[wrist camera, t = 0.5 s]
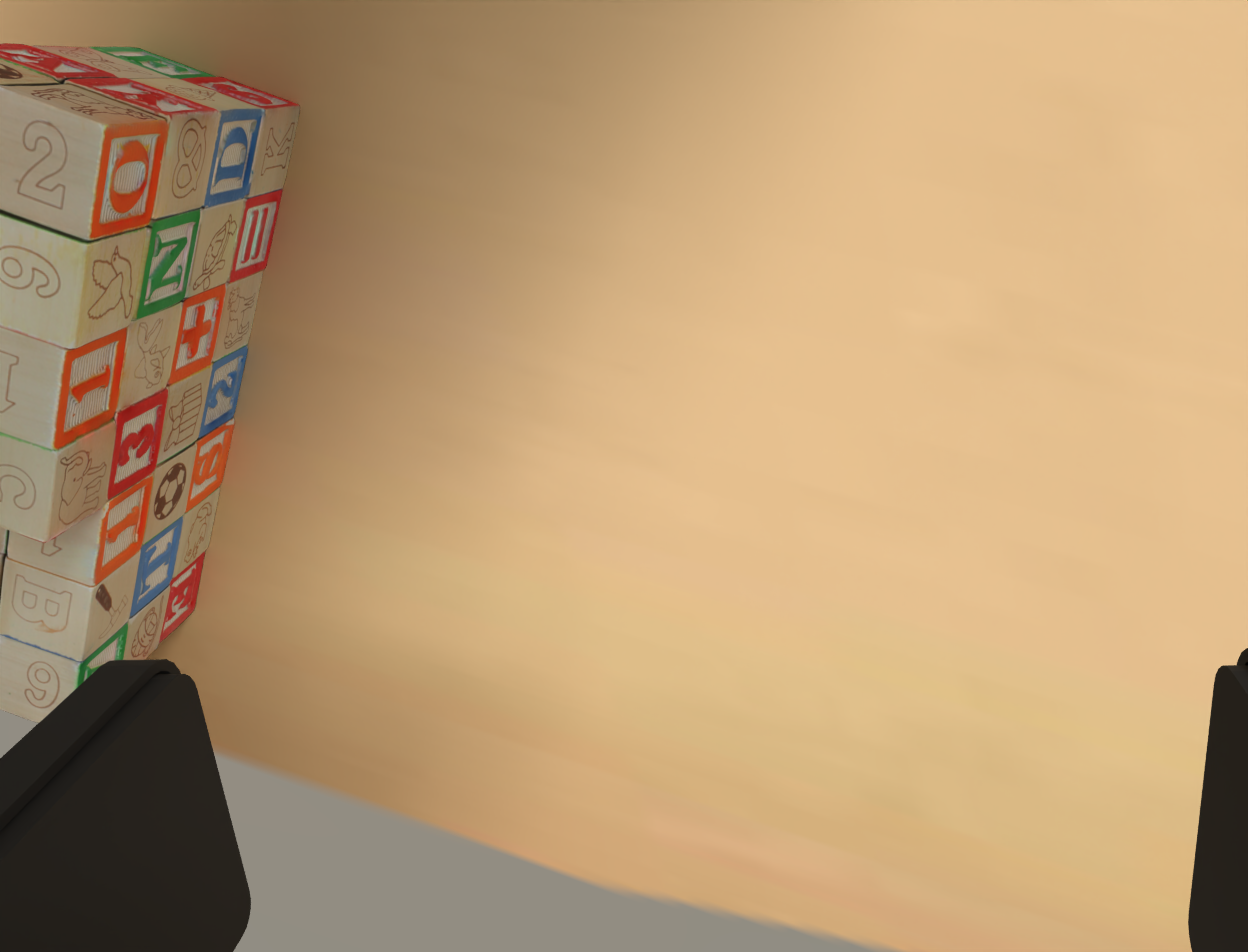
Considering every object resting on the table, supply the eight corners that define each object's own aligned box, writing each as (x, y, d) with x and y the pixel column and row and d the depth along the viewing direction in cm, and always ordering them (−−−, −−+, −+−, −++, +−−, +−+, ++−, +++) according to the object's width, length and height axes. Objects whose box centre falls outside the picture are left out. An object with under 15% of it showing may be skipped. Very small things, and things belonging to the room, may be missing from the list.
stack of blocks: (200, 613, 47) (13, 795, 36) (59, 562, 47) (-173, 727, 36) (304, 100, 39) (104, 123, 27) (133, 40, 39) (-137, 37, 28)
